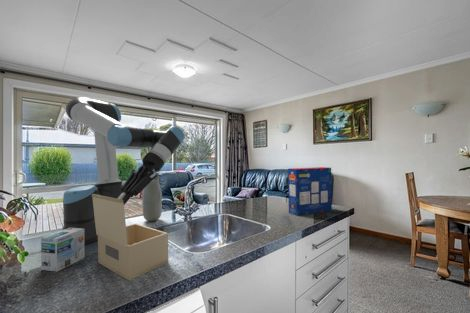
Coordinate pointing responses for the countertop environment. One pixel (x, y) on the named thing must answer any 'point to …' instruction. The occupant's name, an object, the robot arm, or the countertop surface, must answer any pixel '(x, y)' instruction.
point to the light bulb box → (62, 249)
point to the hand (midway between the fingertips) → (112, 211)
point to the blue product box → (309, 190)
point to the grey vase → (152, 200)
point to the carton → (134, 251)
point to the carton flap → (110, 219)
